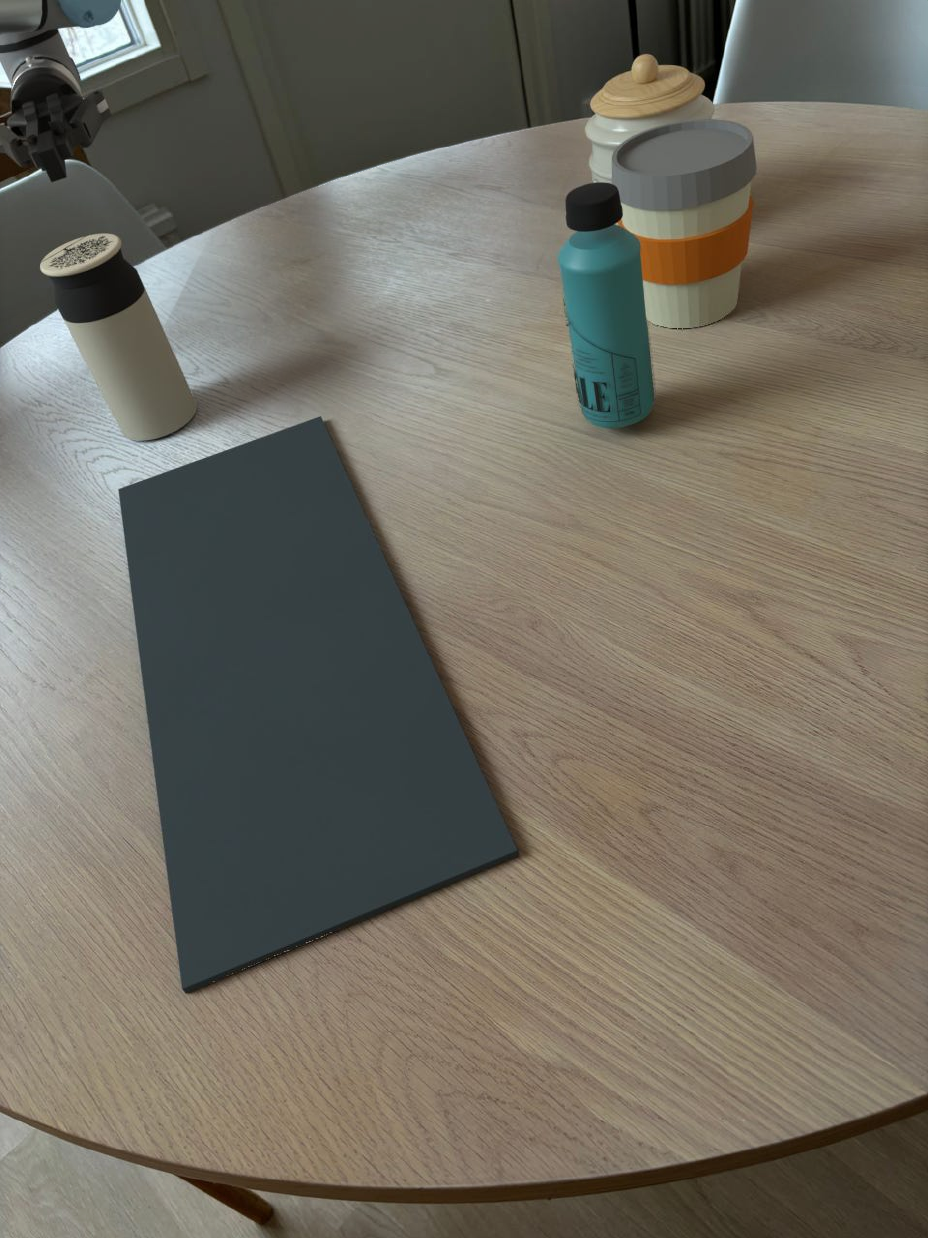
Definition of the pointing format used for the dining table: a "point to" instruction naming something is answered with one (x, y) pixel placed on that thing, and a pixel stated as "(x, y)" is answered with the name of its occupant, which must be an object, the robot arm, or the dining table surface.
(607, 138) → the jar
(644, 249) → the reusable coffee cup
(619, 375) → the beverage bottle
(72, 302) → the travel mug
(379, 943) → the dining table surface
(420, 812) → the mat
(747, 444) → the dining table surface
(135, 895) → the dining table surface
